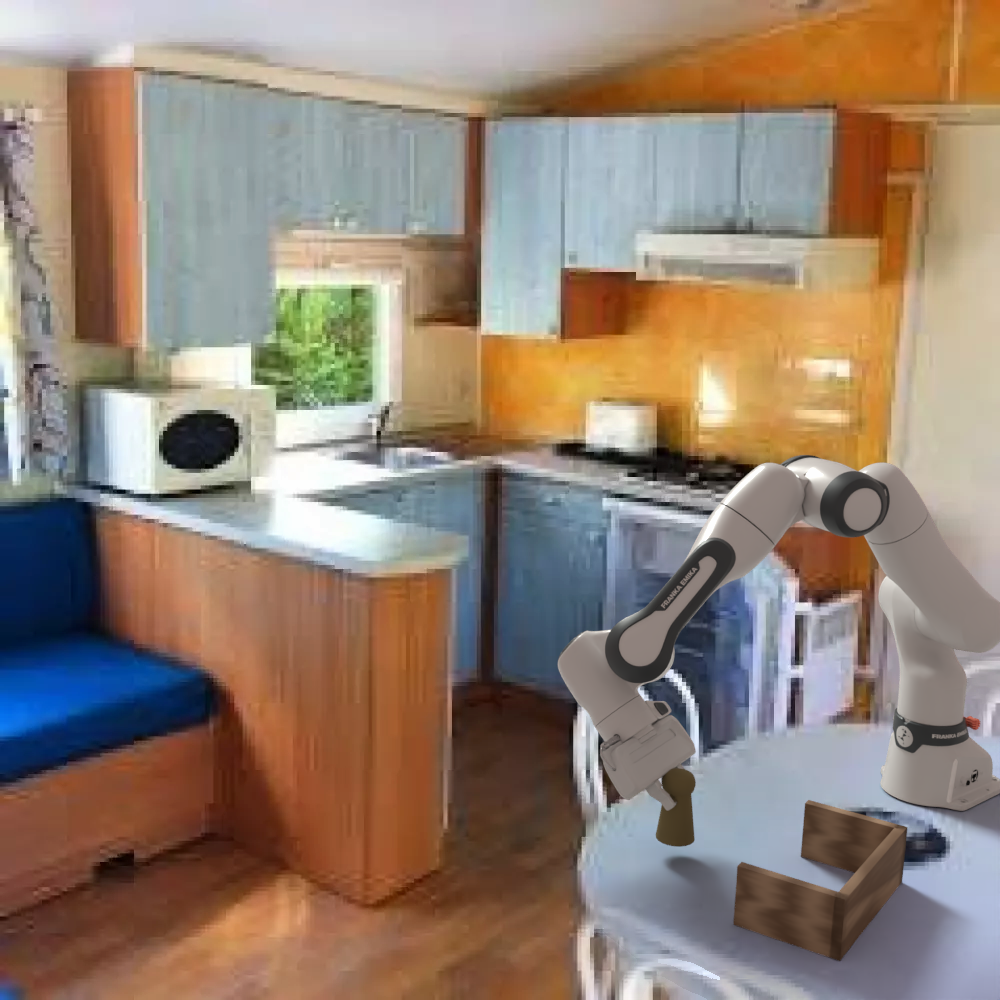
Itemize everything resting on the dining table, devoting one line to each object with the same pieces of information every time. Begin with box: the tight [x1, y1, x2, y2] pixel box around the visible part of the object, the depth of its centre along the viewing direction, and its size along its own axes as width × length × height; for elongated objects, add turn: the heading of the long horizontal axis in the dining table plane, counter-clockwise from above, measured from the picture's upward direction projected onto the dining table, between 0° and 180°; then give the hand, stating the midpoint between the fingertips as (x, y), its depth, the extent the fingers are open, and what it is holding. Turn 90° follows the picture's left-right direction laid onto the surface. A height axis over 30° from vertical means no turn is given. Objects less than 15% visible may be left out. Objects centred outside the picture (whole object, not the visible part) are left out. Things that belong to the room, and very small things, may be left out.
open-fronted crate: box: [733, 799, 908, 962], centre depth 187 cm, size 16×27×9 cm, turn 146°
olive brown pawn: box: [655, 768, 696, 847], centre depth 199 cm, size 6×6×11 cm
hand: (681, 801), depth 199 cm, fingers closed on olive brown pawn, 4 cm apart
